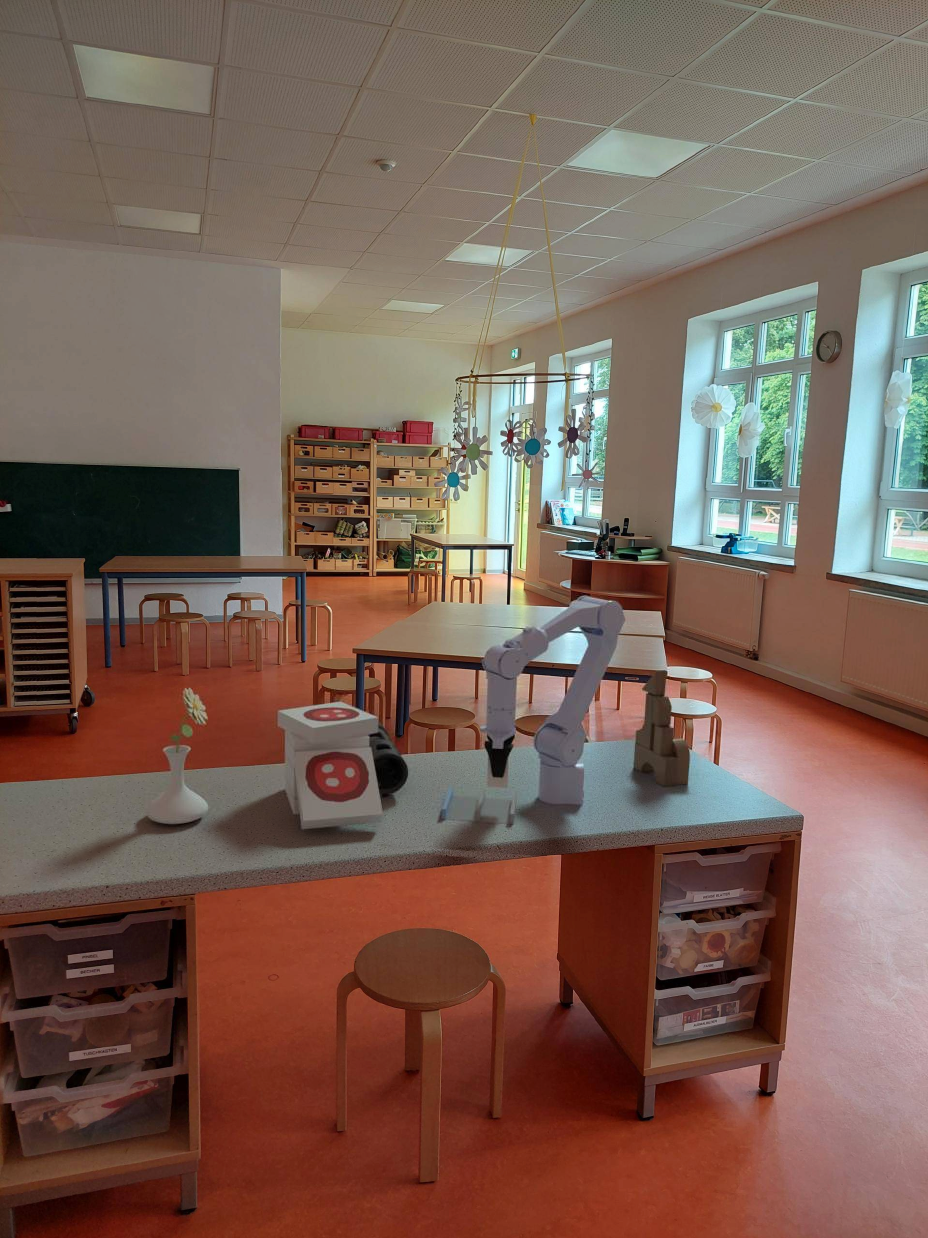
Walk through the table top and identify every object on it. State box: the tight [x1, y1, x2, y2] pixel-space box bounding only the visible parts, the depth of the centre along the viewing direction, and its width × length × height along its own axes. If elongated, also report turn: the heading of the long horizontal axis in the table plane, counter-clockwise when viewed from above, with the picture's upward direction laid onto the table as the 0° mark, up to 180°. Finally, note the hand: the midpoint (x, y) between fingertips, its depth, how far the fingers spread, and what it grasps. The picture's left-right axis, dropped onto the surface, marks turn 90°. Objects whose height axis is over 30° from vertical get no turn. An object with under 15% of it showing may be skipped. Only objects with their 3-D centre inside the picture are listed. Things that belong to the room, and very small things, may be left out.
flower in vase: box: [145, 687, 209, 825], centre depth 169 cm, size 13×11×25 cm
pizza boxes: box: [277, 701, 384, 830], centre depth 177 cm, size 19×30×18 cm, turn 18°
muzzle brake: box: [367, 721, 409, 799], centre depth 196 cm, size 10×28×10 cm, turn 16°
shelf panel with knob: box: [441, 785, 518, 825], centre depth 177 cm, size 14×13×3 cm
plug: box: [486, 755, 510, 789], centre depth 176 cm, size 4×4×8 cm
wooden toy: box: [633, 669, 691, 787], centre depth 204 cm, size 16×7×25 cm, turn 19°
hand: (498, 773), depth 176 cm, fingers closed on plug, 4 cm apart
